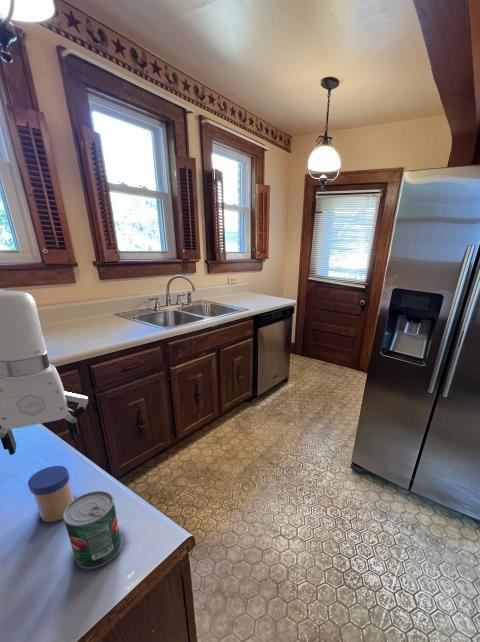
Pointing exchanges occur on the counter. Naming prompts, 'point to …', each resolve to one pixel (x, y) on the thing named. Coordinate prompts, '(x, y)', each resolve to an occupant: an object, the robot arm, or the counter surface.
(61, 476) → the jar lid
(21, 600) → the counter surface
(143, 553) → the counter surface
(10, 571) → the counter surface
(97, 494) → the canned tomato
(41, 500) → the jam jar
